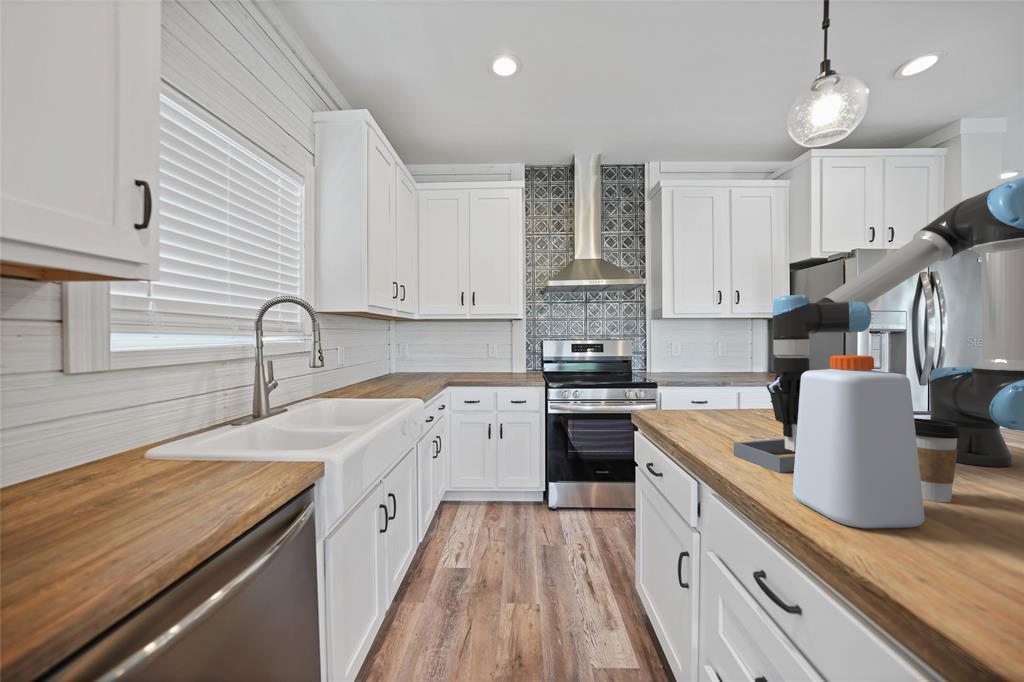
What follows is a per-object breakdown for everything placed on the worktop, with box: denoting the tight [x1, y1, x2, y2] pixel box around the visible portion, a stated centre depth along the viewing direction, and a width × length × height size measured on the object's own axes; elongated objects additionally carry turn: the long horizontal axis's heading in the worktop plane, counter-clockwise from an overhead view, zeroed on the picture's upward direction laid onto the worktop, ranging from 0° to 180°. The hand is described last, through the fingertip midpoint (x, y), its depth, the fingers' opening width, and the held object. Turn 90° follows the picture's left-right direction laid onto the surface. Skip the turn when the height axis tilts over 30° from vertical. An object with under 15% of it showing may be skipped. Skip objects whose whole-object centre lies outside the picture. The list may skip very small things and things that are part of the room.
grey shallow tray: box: [733, 438, 795, 474], centre depth 100 cm, size 18×14×4 cm
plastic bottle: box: [792, 354, 926, 529], centre depth 71 cm, size 15×15×28 cm
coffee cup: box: [914, 417, 960, 503], centre depth 77 cm, size 8×8×15 cm
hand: (791, 449), depth 100 cm, fingers closed
